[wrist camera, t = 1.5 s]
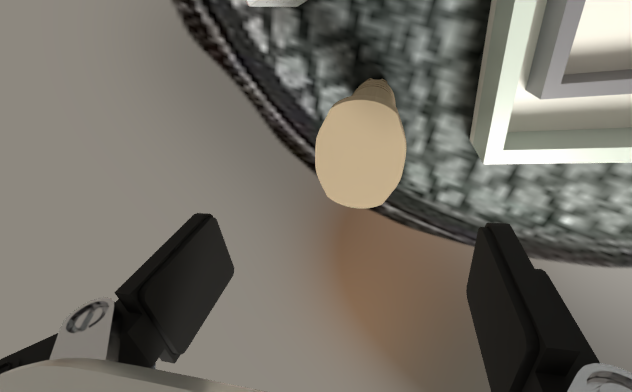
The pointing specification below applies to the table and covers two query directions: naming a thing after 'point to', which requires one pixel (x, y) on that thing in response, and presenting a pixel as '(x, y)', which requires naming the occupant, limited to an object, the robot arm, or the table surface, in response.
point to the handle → (361, 147)
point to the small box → (274, 3)
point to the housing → (555, 83)
